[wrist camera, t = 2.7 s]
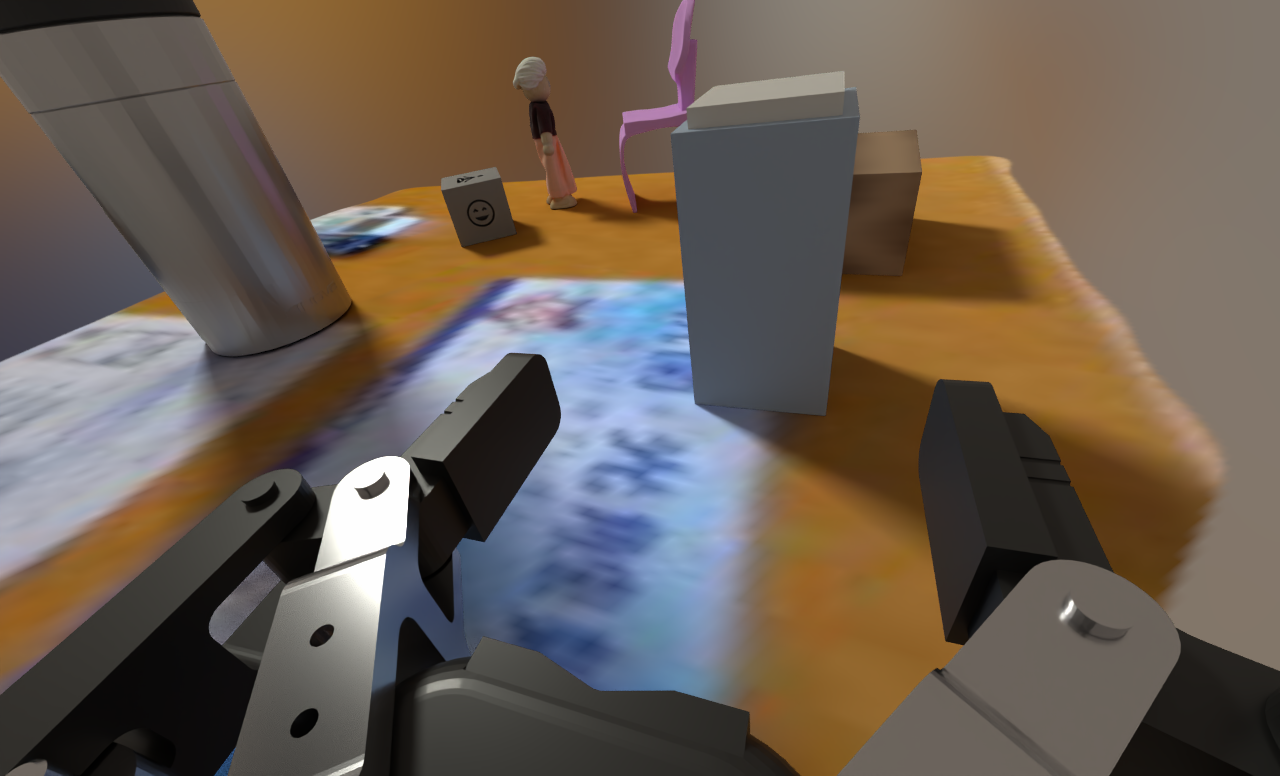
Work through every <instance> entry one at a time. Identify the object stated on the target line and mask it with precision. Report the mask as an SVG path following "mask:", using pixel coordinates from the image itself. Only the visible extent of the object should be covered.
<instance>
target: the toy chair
mask: <svg viewBox="0 0 1280 776" xmlns="http://www.w3.org/2000/svg"><path fill="white" fill-rule="evenodd" d="M694 3H695V0H683V1H682V3H681V4H680V6H679V8H678V11H677V13H676V15H675V19H674V23H673V32H672V48H671V53H670V59H669V63H668V69H669V72H670V74H671V77H672V79H673V80H674V81H675V82H676V83H677V88H678V104H673V105H670V106H666V107H662V108H655V109H649V110H635V111H629V112H623V121H624V124H623V125H622V127H621V130H620V160H621V169H622V175H623V180H624V184H625V188H626V191H627V194H628V198H629V201H630V204H631V207H632V210H633V213H635V212H637V207H636V200H635V194H634V191H633V189H632V186H631V184H630V181H629V178H628V175H627V172H626V168H625V164H624V146H625V142H626V140H627V139H628V138H630V137H631V136H633V135H636V134H640V133H644V132H647V131H651V130H655V129H659V128H665V127H679V126H680V125H681V124H683V123H684V122H685V121H686V120H687V110H686V108H687V107H688V106H690V105H691V104H692V103H694V95H695V76H696V56H697V40H695V39H692V40H690V32H691V24H692V17H693V10H694Z"/></svg>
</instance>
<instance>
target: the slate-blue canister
mask: <svg viewBox="0 0 1280 776" xmlns="http://www.w3.org/2000/svg"><path fill="white" fill-rule="evenodd" d="M844 75H845V74H844V71H839V72H831V73H823V74H815V75H806V76H798V77H789V78H780V79H772V80H763V81H755V82H747V83H738V84H730V85H721V86H715V87H713V88H712V89H711V90H709V91H708V92H707V93H705V94H704V95H703V96H701V97H700V98H699V99H698V100H696V101H695V102H694V103H692V104H691V105H690V106H688V107H687V108H686V110H687V120H686V121H685V122H684V123H683V124H681V125H680V126H679V127H678V128H677V129H676V130H674V131H673V132H672V133H671V143H672V153H673V165H674V177H675V188H676V199H677V210H678V221H679V232H680V244H681V255H682V266H683V277H684V288H685V300H686V311H687V322H688V333H689V344H690V355H691V367H692V378H693V389H694V400H695V404H701V405H711V406H722V407H733V408H744V409H755V410H766V411H777V412H787V413H798V414H809V415H820V416H826V409H827V400H828V391H829V382H830V374H831V365H832V356H833V347H834V338H835V330H836V321H837V312H838V303H839V295H840V286H841V277H842V268H843V260H844V251H845V242H846V233H847V224H848V216H849V207H850V198H851V189H852V181H853V172H854V163H855V154H856V145H857V137H858V128H859V119H860V115H859V107H858V99H857V91H856V87H853V88H845V77H844Z"/></svg>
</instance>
